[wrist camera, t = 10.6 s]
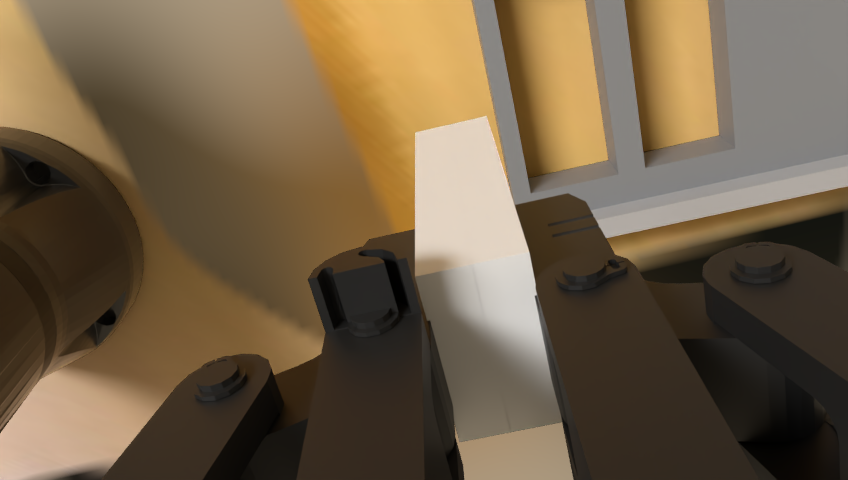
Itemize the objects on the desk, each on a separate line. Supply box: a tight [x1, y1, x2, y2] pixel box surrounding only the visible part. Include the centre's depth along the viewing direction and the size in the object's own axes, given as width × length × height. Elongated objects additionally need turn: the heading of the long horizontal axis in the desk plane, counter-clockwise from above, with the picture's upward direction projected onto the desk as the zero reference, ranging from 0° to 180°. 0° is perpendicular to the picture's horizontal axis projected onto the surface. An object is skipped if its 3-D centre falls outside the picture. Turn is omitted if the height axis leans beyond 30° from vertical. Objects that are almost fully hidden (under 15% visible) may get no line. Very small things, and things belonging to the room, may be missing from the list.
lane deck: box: [472, 0, 848, 238], centre depth 40 cm, size 32×18×6 cm, turn 103°
